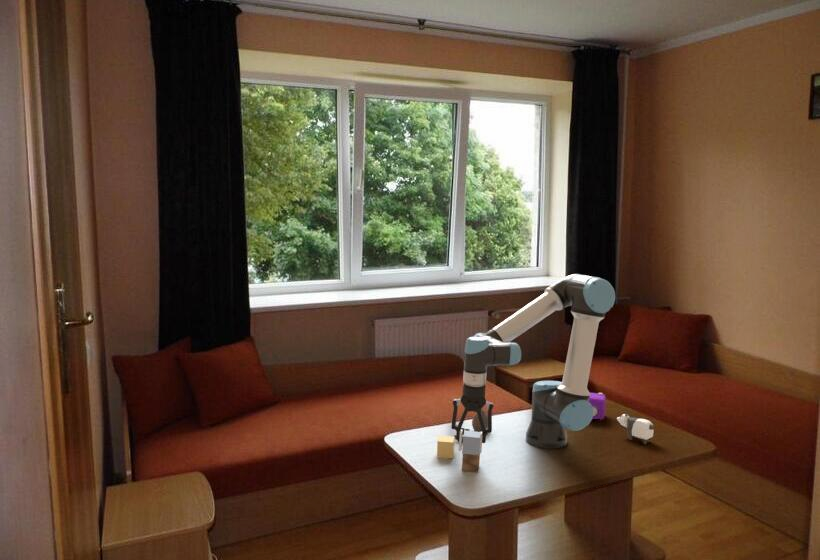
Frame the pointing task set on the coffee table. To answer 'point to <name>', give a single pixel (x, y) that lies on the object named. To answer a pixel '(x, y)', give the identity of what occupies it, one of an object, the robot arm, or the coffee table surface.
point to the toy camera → (598, 405)
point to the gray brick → (471, 442)
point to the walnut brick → (470, 462)
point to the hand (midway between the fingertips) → (470, 450)
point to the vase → (476, 421)
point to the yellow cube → (445, 446)
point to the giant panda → (637, 427)
